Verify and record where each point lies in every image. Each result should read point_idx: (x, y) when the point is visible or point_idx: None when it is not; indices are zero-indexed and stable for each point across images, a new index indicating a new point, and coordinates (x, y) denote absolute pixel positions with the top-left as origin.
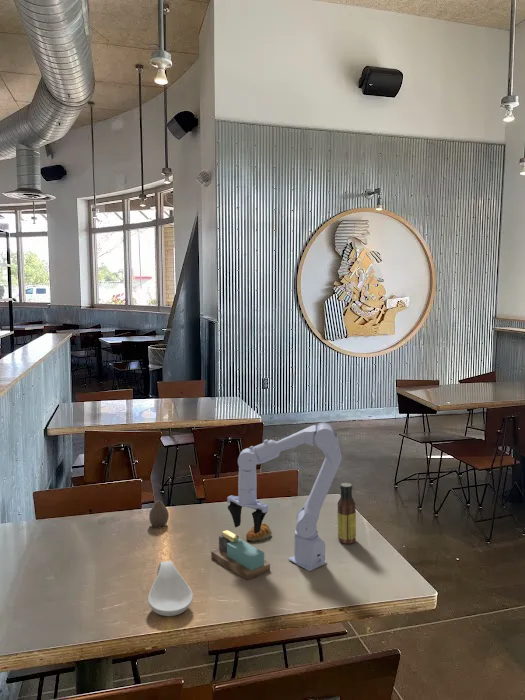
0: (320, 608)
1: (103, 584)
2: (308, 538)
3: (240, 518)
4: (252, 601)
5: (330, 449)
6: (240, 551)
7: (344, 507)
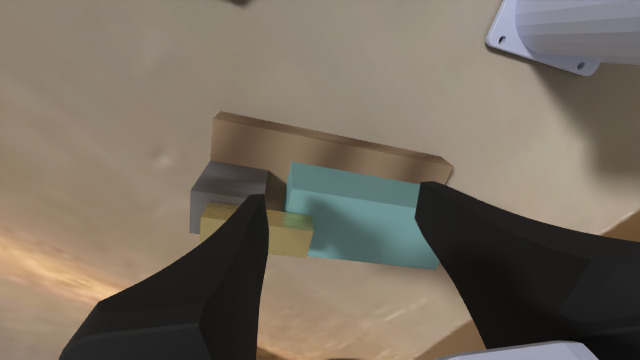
0: (618, 221)
1: None
2: None
3: (253, 215)
4: (455, 286)
5: None
6: (371, 262)
7: None
